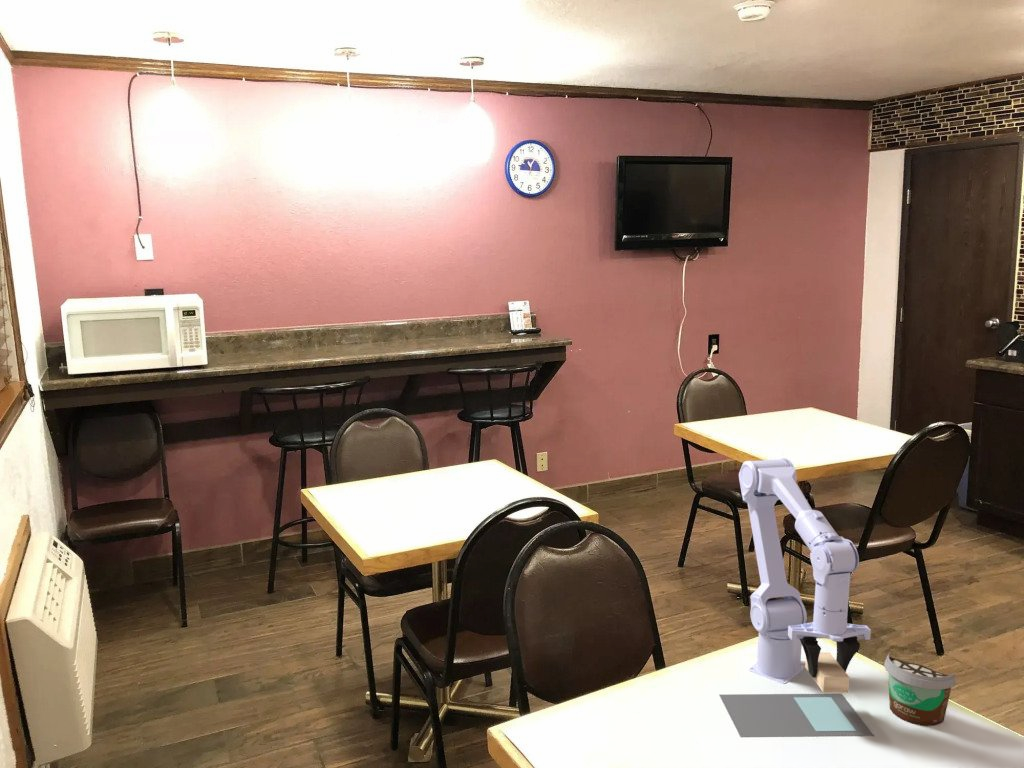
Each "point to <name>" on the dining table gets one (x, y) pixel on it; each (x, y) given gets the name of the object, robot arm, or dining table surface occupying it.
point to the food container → (918, 692)
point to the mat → (794, 715)
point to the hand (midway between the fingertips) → (826, 674)
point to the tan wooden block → (830, 675)
